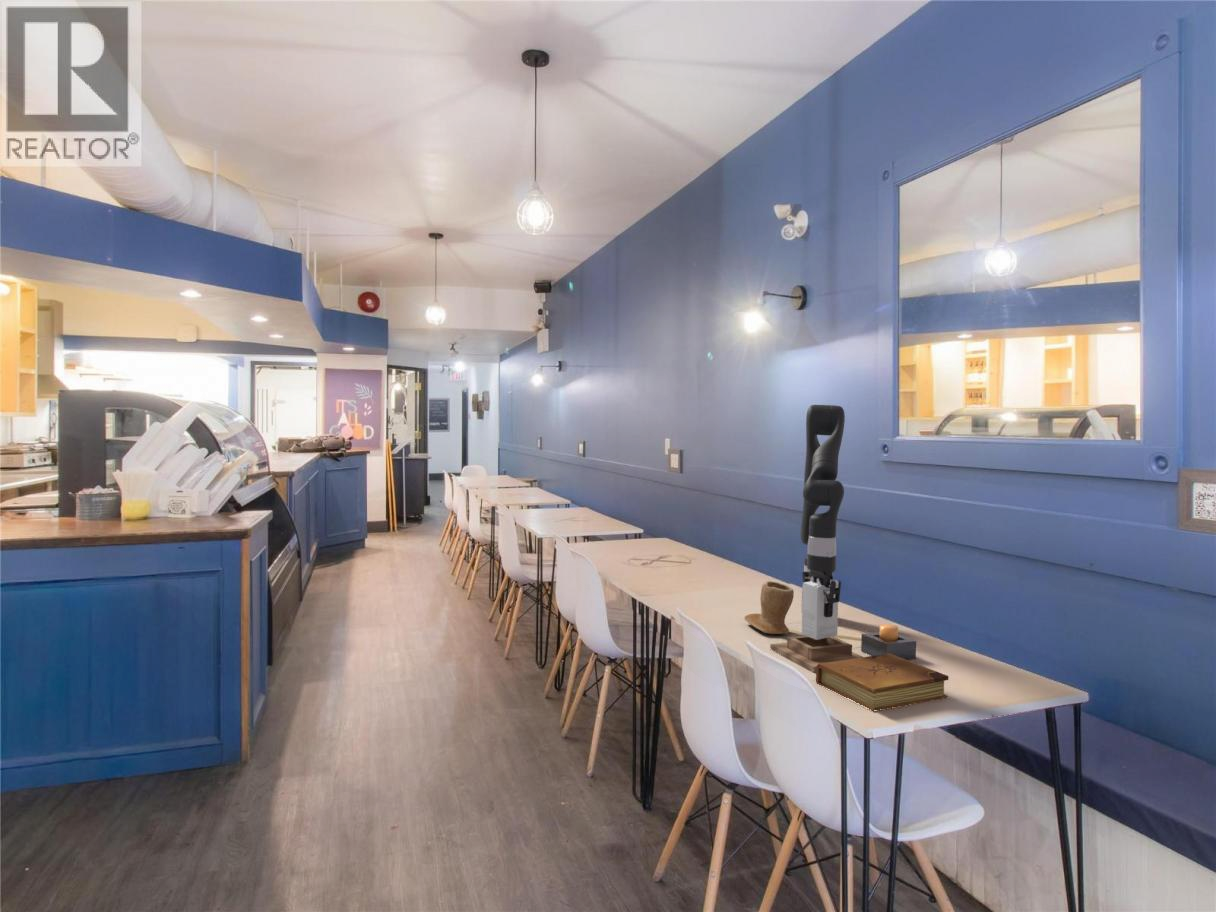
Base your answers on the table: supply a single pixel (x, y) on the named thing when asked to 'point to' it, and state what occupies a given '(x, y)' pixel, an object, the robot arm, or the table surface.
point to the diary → (881, 681)
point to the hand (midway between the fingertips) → (820, 613)
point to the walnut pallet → (814, 651)
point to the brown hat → (772, 608)
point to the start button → (888, 632)
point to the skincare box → (817, 613)
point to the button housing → (888, 646)
